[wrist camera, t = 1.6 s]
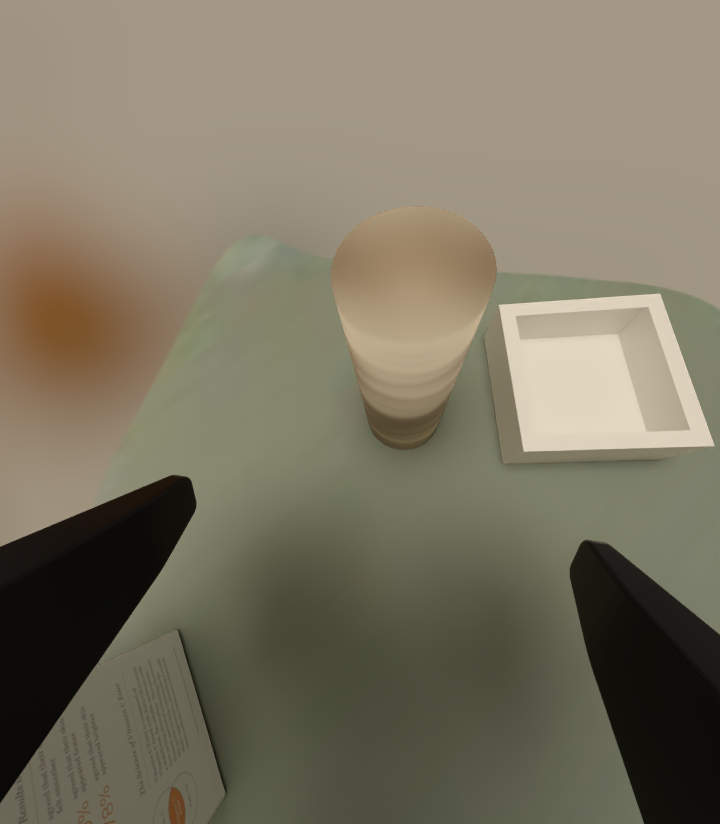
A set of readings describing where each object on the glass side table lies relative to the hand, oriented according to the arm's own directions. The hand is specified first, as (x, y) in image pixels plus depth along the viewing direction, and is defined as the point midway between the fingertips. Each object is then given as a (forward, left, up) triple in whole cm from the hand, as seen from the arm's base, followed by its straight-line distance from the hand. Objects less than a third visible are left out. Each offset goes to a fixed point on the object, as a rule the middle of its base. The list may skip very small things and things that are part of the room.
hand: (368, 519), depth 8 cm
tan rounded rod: (+7, -1, -12) cm, 14 cm away
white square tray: (+8, -11, -12) cm, 18 cm away
